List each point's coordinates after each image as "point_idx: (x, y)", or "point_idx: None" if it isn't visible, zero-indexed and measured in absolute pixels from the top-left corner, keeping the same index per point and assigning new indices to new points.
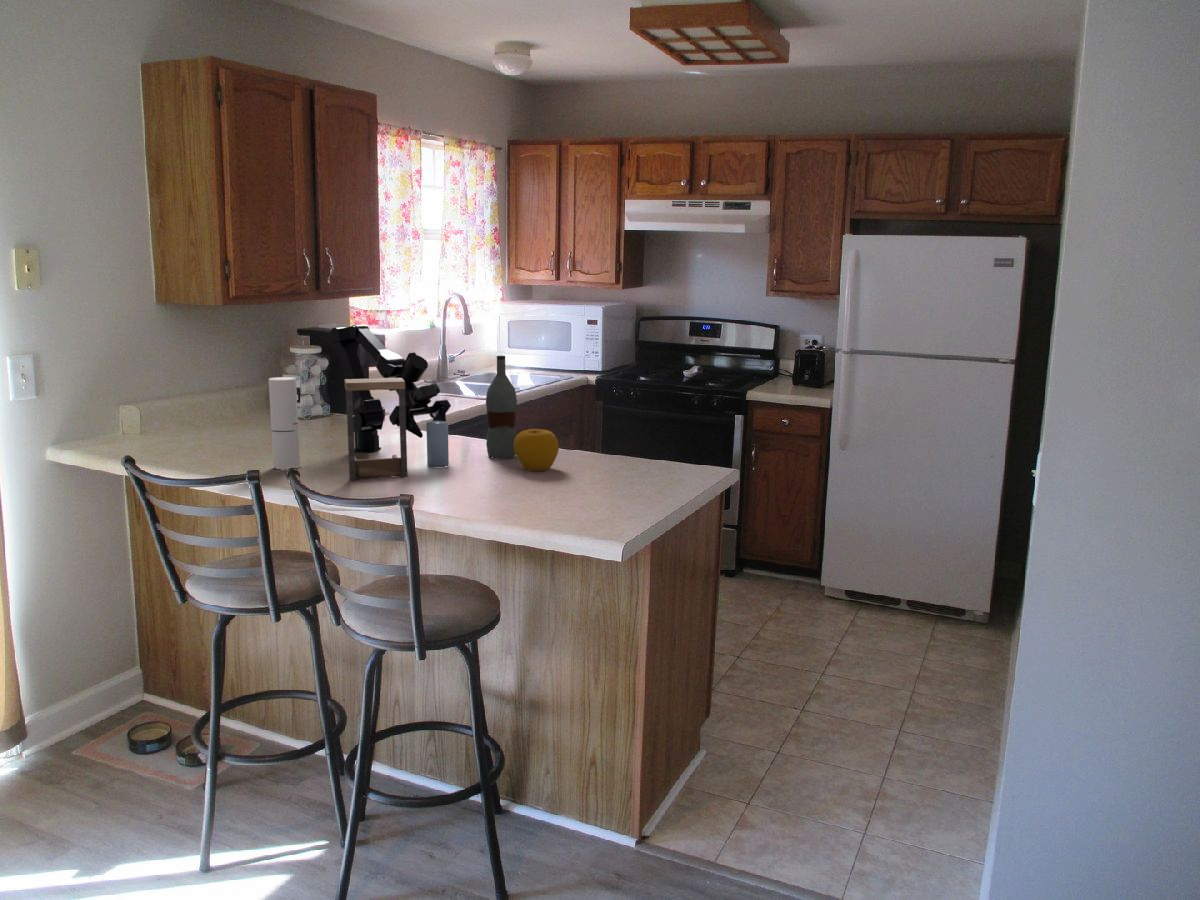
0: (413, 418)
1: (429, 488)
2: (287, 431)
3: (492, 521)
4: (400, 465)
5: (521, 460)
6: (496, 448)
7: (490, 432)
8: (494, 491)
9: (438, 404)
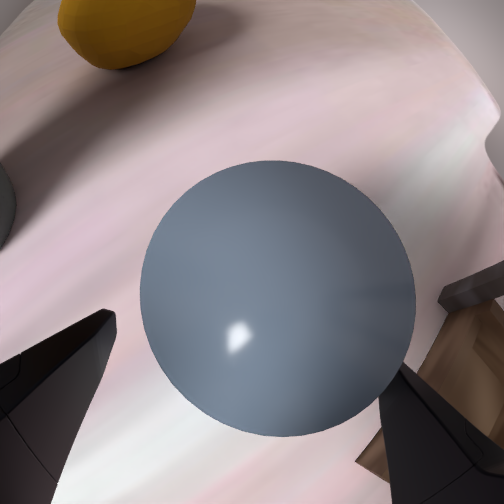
0: (491, 470)
1: (457, 160)
2: None
3: (450, 44)
4: (476, 305)
5: (180, 31)
6: (1, 184)
7: None
8: (371, 53)
9: None
